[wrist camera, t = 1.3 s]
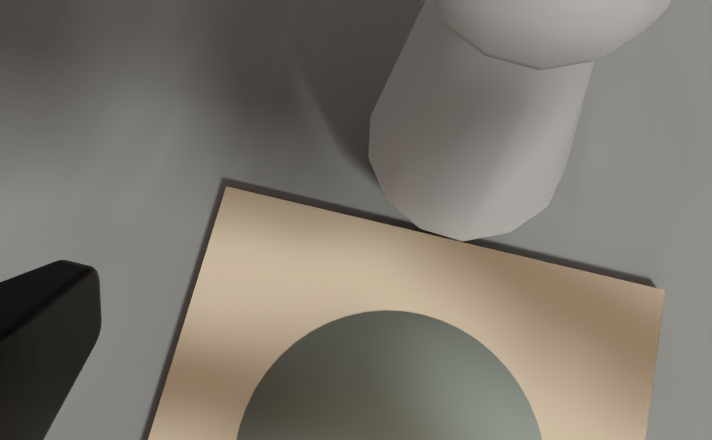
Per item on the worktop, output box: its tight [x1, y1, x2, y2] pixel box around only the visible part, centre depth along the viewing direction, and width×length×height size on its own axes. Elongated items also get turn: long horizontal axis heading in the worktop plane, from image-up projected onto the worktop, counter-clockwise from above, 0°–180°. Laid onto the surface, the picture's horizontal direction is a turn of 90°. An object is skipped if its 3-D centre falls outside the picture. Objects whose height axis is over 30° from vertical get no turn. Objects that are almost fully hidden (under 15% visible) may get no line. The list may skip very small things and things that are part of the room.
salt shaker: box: [368, 0, 671, 242], centre depth 16 cm, size 6×6×13 cm
